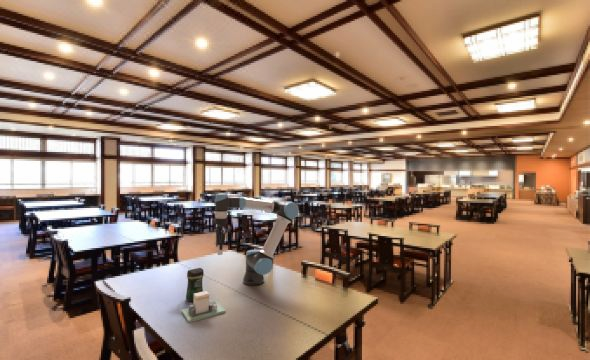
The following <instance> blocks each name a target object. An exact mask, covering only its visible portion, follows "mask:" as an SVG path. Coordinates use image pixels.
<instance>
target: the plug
mask: <svg viewBox="0 0 590 360" xmlns="http://www.w3.org/2000/svg"><path fill="white" fill-rule="evenodd" d="M193 298H194V301H192V302H193V304H192V305H193V308H194V310H195V314H199V313H202V312H206V311H209V302H210V293H209V292H208V291H207V290H204V291H203V292H199V293H194V297H193Z"/></svg>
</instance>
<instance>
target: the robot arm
mask: <svg viewBox="0 0 590 360" xmlns="http://www.w3.org/2000/svg"><path fill="white" fill-rule="evenodd" d="M214 199H215V200H214V202H215V205H214V206H215V207H214V210H215V211H214V213H213V214H214V217H215V218H214V225H216V227H215V228H214V229H215V237H216V238H215V240H216V241H215V242H216V243H217V256H222V255H223V251H224V250H223V249H224V248H223V247H224V246H223V245H225V244H226V243H225V241H226V233H227V229H226V227H225V225H227V224H228V209H242V208H243V209H250V210H258V211H264V212H268V213H271V214H274V215H276V220H275V222H274V224H273V227H272V229H271V231H270V233H269V235H268V237H267V239H266V241H265V242H264V245H263V246H262V248H261V249H250V250H247V251H246V253H245V254H246V255H245V272H244V276H243V278H242V284H244V285H246V284H247V286H257V285H256V284H259V285H261V284H260V283H262V282H263V281H264V282H265V278H264V276H265V275H267V274H270V272H271V271H272V269H273V267H274V264H273V261H274V259H275V257H274V253H275V251H276V249H277V247H278V245H279V243H280V242H281V239H282V237H283V235H284V233H285V230H286V228H287V227H288V224H291V223H292V222H293V219H295V218H297V216H298V215H299V213H300V212H299V207H298V204H297V203H296V202H293V201H290V200H289V201H287V200H275V199H271V200H265V199H259V198H258V199H257V198H249V197H245V196H237V195H231V194H229V195H228V193H216V195H215V198H214ZM264 282H263V283H264ZM263 283H262V284H263Z"/></svg>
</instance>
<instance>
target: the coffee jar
mask: <svg viewBox="0 0 590 360" xmlns="http://www.w3.org/2000/svg"><path fill="white" fill-rule="evenodd" d="M204 275H205V274H204V269H203V268H202V267H197V268H196V267H195V268H193V269H188V270H187V272H186V278H187V288H186V295H185V299H186V300H187V301H188V302H194V298H193V297H194V293H199V292H203V289H204V288H203V278H204Z"/></svg>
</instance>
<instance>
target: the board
mask: <svg viewBox="0 0 590 360" xmlns="http://www.w3.org/2000/svg"><path fill="white" fill-rule="evenodd" d="M209 302H210V301H209ZM210 303H211V304H212V305H213V312H209V313H206V314H202V315H198V316H195V317H192V316H191V315H190V313H189V307H187V308H183V309H181V314H182V315H183V316H184V318H185V320H186V322H187V324H189V323H194V322H196V321H200V320H203V319H207V318H210V317H215V316H218V315H221V314H225V313H226V311H227V310H226V309H225V308H224V307H223V306H222V305H221V304H220V303H219V302H218V301H217V300H216V301H211V302H210Z"/></svg>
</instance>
